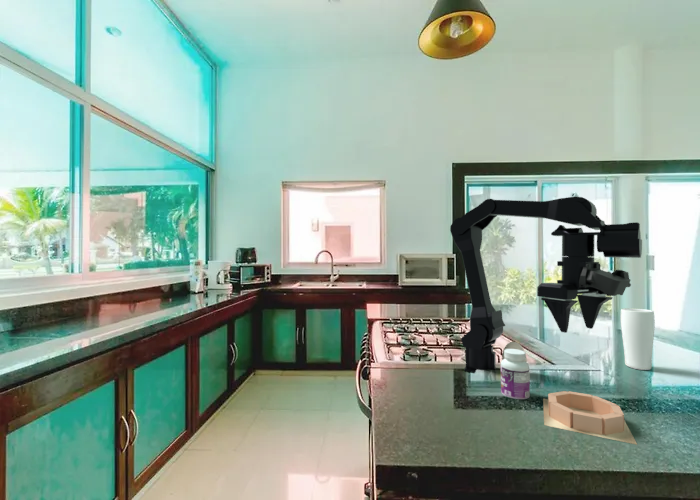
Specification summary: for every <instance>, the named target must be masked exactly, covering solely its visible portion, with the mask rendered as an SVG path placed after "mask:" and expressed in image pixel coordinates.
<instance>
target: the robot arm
mask: <svg viewBox="0 0 700 500" xmlns="http://www.w3.org/2000/svg"><path fill="white" fill-rule="evenodd" d="M597 214H598V213H597V207H596V205H595V204H594V203H593V202H592V201H590V200H588V199H586V198H585V197H582V196H571V197H560V198H555V199H552V200H545V201H544V200H543V201H540V200H512V199H511V200H509V199H508V200H507V199H494V198H487V199H485V200H482V202H481V203H480V204H479V205H477V206H475V207H474V208H472V209H471V210H469V211H467V212H466V213H465V214H463V216H461V217H458V218H457V217H456V218H455V219H454V220H453V221H452V223H451V225H450V229H449V230H450V233H451V236H452V239H453V241H454V242H453V243H454V244H455V245H456V247H457V249H458V250H459V252H460V254H461V256H462V261H463V266H464V267H463V268H464V271H465V277H466V281H467V282H466V283H467V287H468V291H469V296H470V302H471V312H470V316H469V331H468V332H466V333H465V335H463V336H462V337H461V338H460V340H461V343H462V346H463V347H464V348H465V367H464V368H463V370H464V372H470V373H471V372H472V373H476V371H477V370H480V371H481V370H483V371H484V370H485V371H486V370H490V371H491V370H493V371H495V370H496V366H497V365H496V362H497V360H496V356H497V355H496V352H495V351H494V345H495V344H496V342H497V339H498V338H500V337H502V335H503V333H504V327H506V324H505V322H504V320H503V311H502V310H501V309H500V310H496V309H495V307H494V306H493V304H492V302H491V297H490V291H489V288H488V282H487V276H486V273H485V268H484V267H485V266H484V263H483V259H482V254H481V247H482V242H483V230H485V229H486V228H487V227H488V226H489V225H490V224H491V223H492V222H493V220H494V219H495V218H496V217H497V216H501V217H506V216H507V217H519V218H520V217H521V218H534V219H545V220H550V221H551V220H552V221H555V222H559V223H564V224H568V225H572V226H573V225H574V226H578V227H569V228H567V227H565V225H562V224H559V225H558V227H557V228H556V229H555V230H553V231H552V232H551V233H550V234H551V236H553V237H561V260H558V261H557V263H556V264H557V265H556V266H557V267H561V279H557V280H556V281H557V282H542V283H540V284H538V286H537V287H536V296H537V297H540V300H542V301H544V303H545V305H546V306H547V308H548V311H550V313H551V316H552V317H553V319H554V321H555V323H556V325H557V327H558V329H559V331H560V332H561V333H568V329H569V326H570V325H569V323H570V315H571V308H572V307H573V306H575V305H576V304H577V303H579V307H580V311H581V315H582V318H583V321H584V324H585V328H586V329H593V328H594V326H595V324H596V321H597V319H598V315H599V313H600V310H601V308H602V306H603V305H604V304H605V303H607V302H608V301H611V300H612V299H614V298H613V297H614V296H615V297H616V296H617V295H618V296H619V295H620V296H623V295H624V293H625V292H626V289H627V288H630V287H631V286H632V284H631V279H630V275H629V271H626V270H623V269H615V270H614V271H612V272H611V271H605V270H604V269H603V270H602V269H601V263H600V262H599V261H595V236H596V250H597V253H602V254H603V257H604V258H627V259H628V258H629V259H634V258H635V259H636V258H640V259H641V258H642V253H643V240H642V237H641V223H639V222H629V223H615V224H606V223H605V220H603V219H601V218H600V217H599V216H598V215H597ZM580 226H581V227H580ZM583 226H585V228H586V227H587V228H589V229H592V230H595V232H594V231H591V232H588V231H587V232H585V231H584V230H583V228H582V227H583ZM576 299H577V300H576Z"/></svg>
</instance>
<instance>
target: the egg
mask: <svg viewBox="0 0 700 500" xmlns="http://www.w3.org/2000/svg"><path fill="white" fill-rule="evenodd" d="M505 349H518V350H522V351H524V352H525V353H526V351H525V349H524V348H523V346H522V345H521V344H520V343H519V342H516V341H510V342H508V343H507V344H506V345H505V346H504V348H503V351H502V355H501V361H502V360H503V359H506V358H505V357H504V350H505ZM524 361H525V362H527V361H528V360H527V357H526V359H525V360H524ZM527 363H528V362H527Z"/></svg>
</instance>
